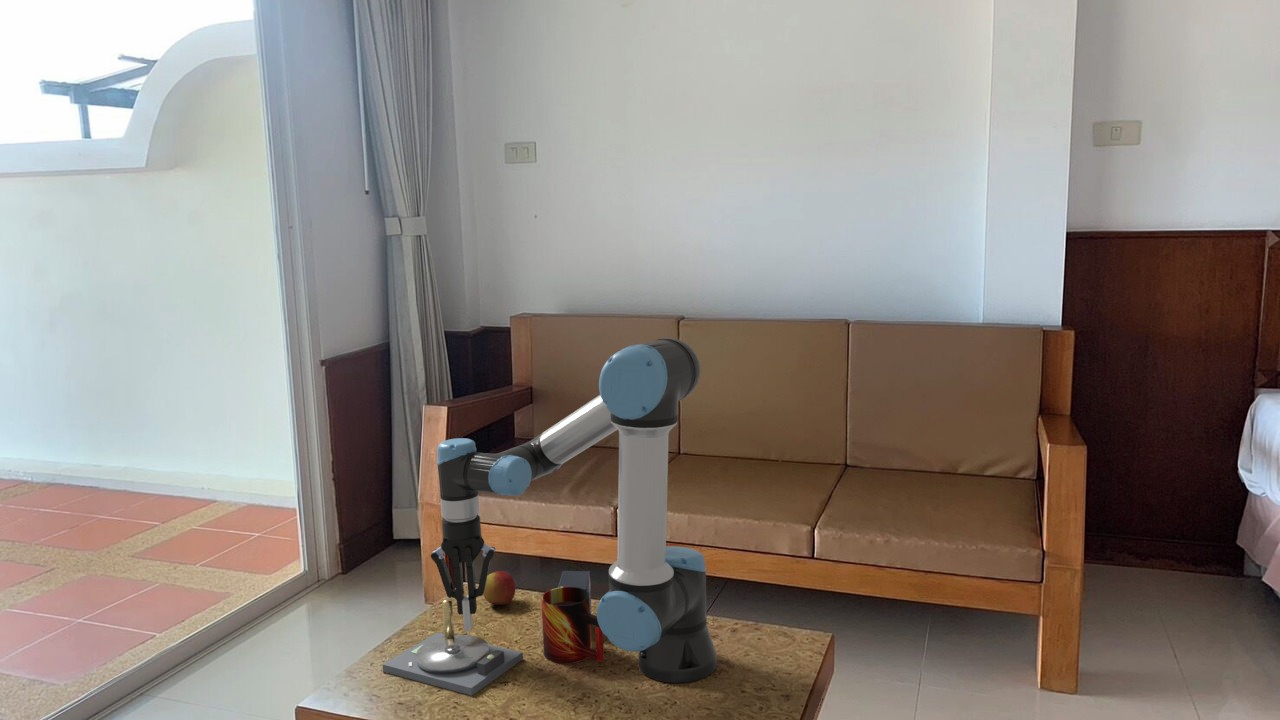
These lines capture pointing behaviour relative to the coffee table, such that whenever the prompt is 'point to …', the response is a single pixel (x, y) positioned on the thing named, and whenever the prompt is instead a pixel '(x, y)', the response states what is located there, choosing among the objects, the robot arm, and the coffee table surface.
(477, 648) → the crank wheel
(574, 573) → the small box
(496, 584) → the apple
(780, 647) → the coffee table surface
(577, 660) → the mug
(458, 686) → the record turntable
